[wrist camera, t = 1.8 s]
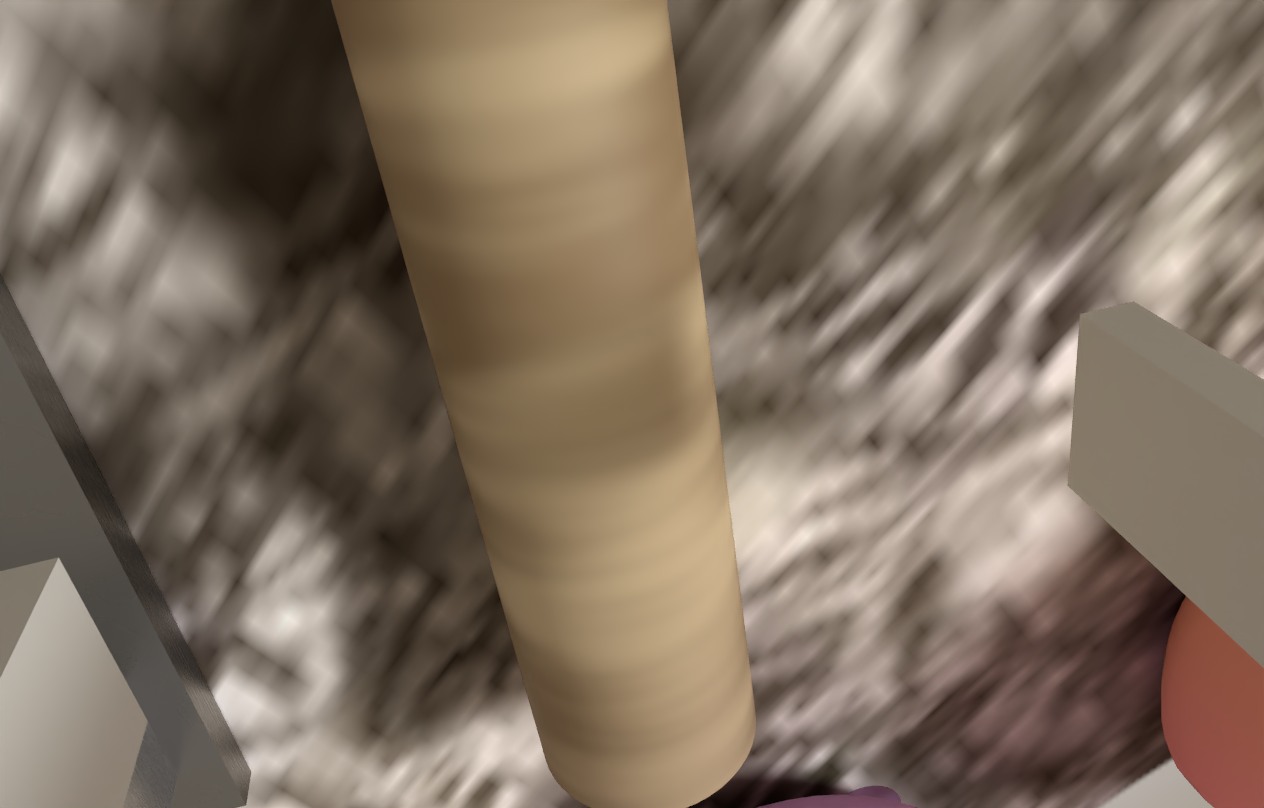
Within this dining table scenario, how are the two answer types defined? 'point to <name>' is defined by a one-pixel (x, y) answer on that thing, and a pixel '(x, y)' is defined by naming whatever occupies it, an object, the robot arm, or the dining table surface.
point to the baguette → (572, 367)
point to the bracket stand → (107, 582)
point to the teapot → (847, 800)
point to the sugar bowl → (1213, 711)
